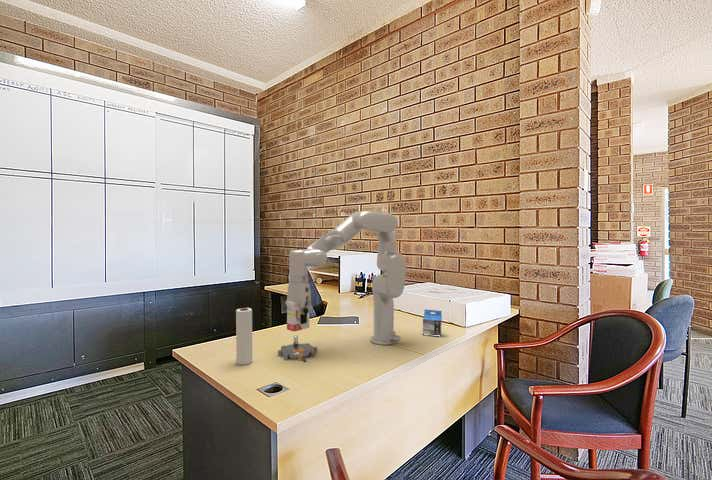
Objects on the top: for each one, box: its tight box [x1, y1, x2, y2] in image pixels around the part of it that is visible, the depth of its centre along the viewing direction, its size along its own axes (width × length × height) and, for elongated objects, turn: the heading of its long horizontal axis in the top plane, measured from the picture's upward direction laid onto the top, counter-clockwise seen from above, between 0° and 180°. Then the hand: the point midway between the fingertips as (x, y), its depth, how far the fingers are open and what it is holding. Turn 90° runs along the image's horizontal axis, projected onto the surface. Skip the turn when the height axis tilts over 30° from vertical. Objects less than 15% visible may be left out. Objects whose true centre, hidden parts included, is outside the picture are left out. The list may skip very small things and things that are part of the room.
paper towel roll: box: [235, 307, 253, 366], centre depth 142 cm, size 7×6×21 cm
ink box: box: [286, 301, 310, 333], centre depth 150 cm, size 9×5×12 cm, turn 136°
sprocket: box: [277, 335, 318, 362], centre depth 152 cm, size 16×16×6 cm
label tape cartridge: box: [422, 309, 443, 336], centre depth 179 cm, size 9×4×12 cm, turn 68°
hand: (298, 321), depth 150 cm, fingers closed on ink box, 5 cm apart
